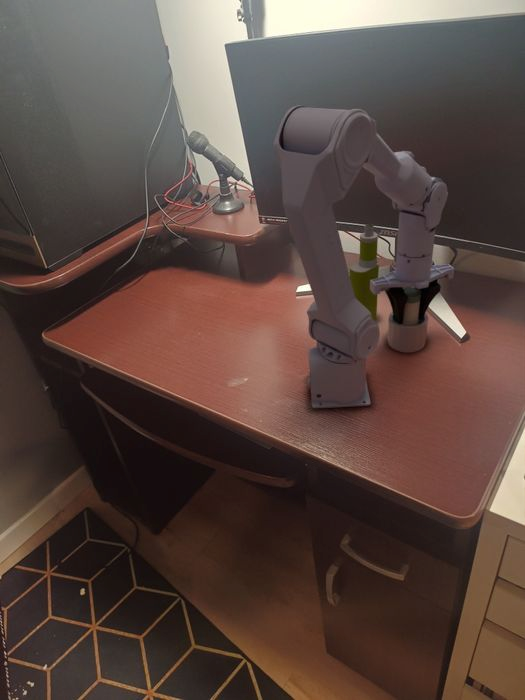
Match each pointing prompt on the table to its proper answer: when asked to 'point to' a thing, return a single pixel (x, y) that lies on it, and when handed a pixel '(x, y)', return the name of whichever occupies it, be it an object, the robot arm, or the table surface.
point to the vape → (366, 270)
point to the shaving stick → (411, 306)
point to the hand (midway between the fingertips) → (408, 319)
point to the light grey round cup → (407, 335)
